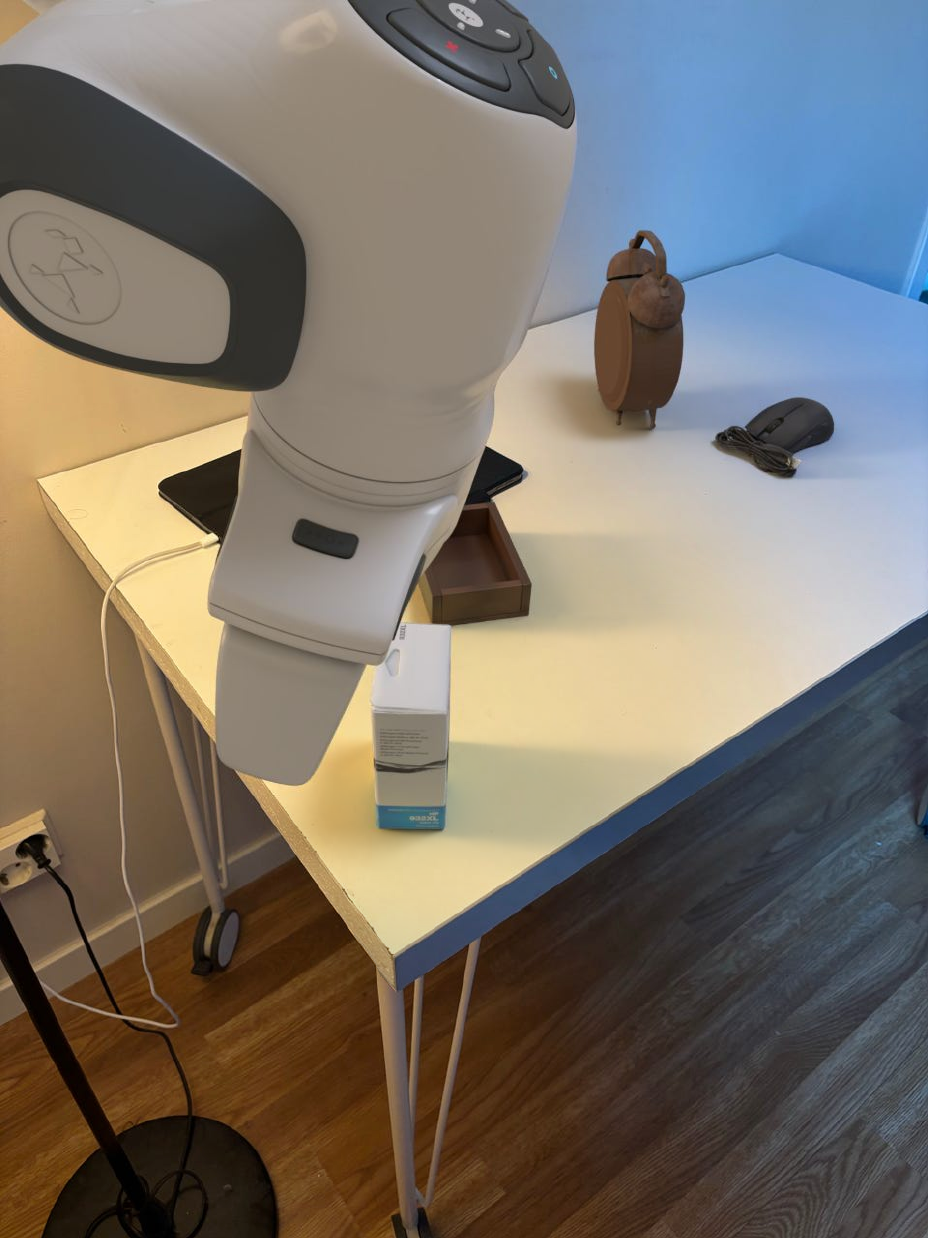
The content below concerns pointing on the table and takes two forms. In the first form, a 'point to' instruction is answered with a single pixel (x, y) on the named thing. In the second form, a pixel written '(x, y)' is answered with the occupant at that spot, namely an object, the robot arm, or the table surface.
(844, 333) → the table surface
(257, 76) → the robot arm
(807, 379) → the table surface
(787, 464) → the computer mouse
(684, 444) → the table surface
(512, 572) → the wooden tray
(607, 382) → the alarm clock
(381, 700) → the ink box
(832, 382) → the table surface
